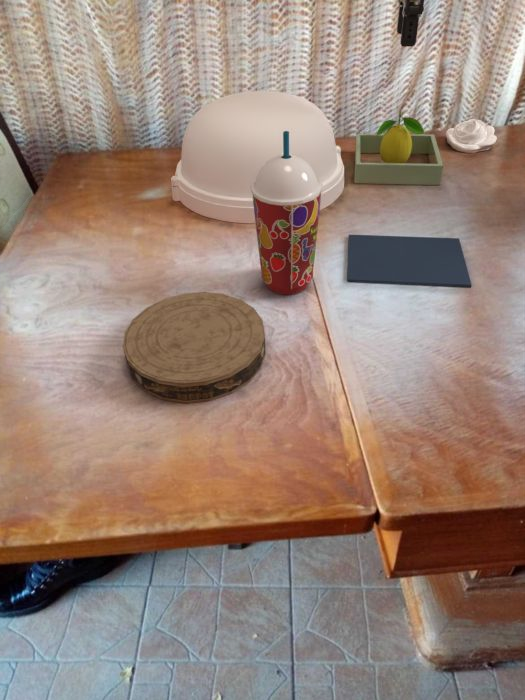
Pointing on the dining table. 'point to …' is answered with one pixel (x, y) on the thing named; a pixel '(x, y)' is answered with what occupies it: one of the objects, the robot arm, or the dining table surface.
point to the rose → (471, 136)
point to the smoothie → (286, 220)
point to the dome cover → (251, 151)
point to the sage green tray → (398, 171)
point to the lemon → (398, 139)
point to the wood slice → (195, 347)
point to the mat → (407, 260)
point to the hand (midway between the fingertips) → (405, 39)
